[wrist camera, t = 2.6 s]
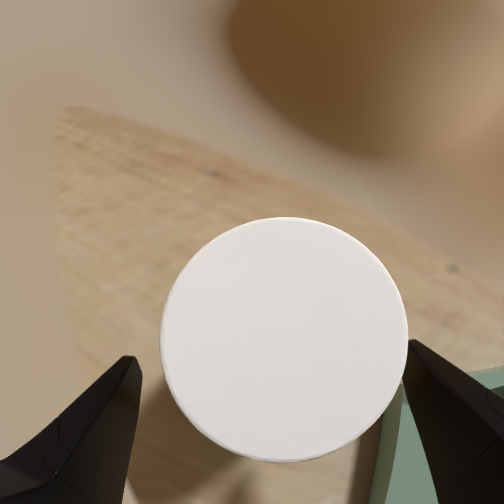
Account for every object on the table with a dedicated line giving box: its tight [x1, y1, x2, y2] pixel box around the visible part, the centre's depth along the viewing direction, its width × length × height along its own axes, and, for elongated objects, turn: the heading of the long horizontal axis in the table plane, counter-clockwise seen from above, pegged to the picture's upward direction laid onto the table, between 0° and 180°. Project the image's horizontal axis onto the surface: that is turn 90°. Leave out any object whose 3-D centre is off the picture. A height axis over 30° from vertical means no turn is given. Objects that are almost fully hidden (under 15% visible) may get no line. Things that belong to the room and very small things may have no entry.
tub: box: [368, 366, 504, 504], centre depth 13 cm, size 14×12×2 cm
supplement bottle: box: [159, 217, 408, 463], centre depth 11 cm, size 7×7×13 cm
